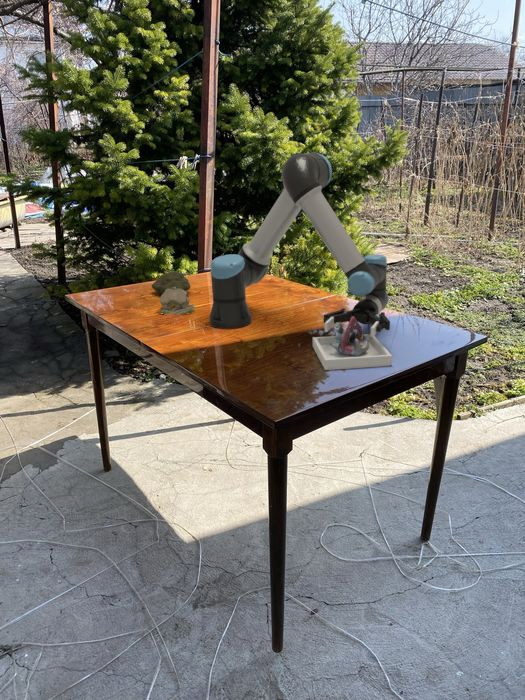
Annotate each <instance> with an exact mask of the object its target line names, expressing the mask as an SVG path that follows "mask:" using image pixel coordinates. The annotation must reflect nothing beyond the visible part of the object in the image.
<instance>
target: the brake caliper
mask: <svg viewBox="0 0 525 700" xmlns="http://www.w3.org/2000/svg"><path fill="white" fill-rule="evenodd" d="M333 330H335V331H336V333H335V336H336V343H330V345H331V346H332V347H333V348H334V349H336V350H337V351H338V353H339V354H340V355H344V356H346V355H348V356H353V357H359V356H361V355H362V354H364V353H365V352H366V351H367V350H368V348H369V344H368V340H367V336H366V335H365V333H363V331H364V329H363V328H362V325H361V323H359V322H357V320H356V318H355V317H354V316H353V317H352V318H351V320H350V322H348V324H347V327H343V322H342V323H337V322H336V324H334V326H333ZM355 330H356V331H357V332H356V331H355ZM362 334H364V335H363V338H362Z"/></svg>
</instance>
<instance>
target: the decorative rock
mask: <svg viewBox="0 0 525 700" xmlns="http://www.w3.org/2000/svg"><path fill="white" fill-rule="evenodd" d="M172 287H176V289H183V290H184V291H186V292H188V291H189V290H190V289H191V284H190V282H189V279H188V278H186V277H185V276H184V274H182V273H181V272H180V271H177V270H173V271H168V272H166V273H163V274H161V275H159V277H158V278H157V279H156V280H155V281H154V282H153V283H152V284H151V288H152V289H153V290H154V291H155V292H156V293H158V294H163V293H164V292H165V290H166V289H172Z"/></svg>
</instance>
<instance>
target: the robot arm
mask: <svg viewBox="0 0 525 700" xmlns="http://www.w3.org/2000/svg"><path fill="white" fill-rule="evenodd" d="M332 170H333V169H332V165H331V162H330V161H329V159H328V158H327V157H326V156H325V155H323V154H321V153H317V152H314V151H313V152H309V153H297V154H294V155H291V156H290V157H289V158H287V160H286V161H285V162H284V164H283V165H282V170H281V180H282V184H283V190H282V191H281V193H280V195H279V197H278V198H277V200H276V201H275V203H274V204H273V206H272V207H271V209H270V211H268V214H267V215H266V217H265V219H264V220H263V221H262V223H261V225H260V226H259V228H258V230H257V231H256V233H255V234H254V236H253V237H252V239H251V240H250V242H247V243H244V244H243V245H242V247H241V249H240V250H239V252H238V254H234V253H233V254H232V253H231V254H225V255H219V256H217V257H215V258H214V259H213V260H212V261H211V263H210V275H211V276H210V277H211V290H212V306H211V309H210V314H209V325H210V326H211V325H212V327H213V326H214V328H218V329H225V330H226V329H227V330H228V329H237V328H238V329H239V328H243V327H246V326H248V324H249V325H250V324H251V323H252V321H253V319H252V314H251V310H250V309H249V305H248V302H247V297H246V288H247V287H250V286H252V285H255V284H257V283H259V282H260V281H261V280H263V279H264V277H265V276H266V275H267V273H268V271H269V265H270V264H271V257H270V256H271V255H272V254H273V252H274V250H275V249H276V247H277V246H278V245H279V243H280V241H281V240H282V239H283V238H284V235H285V234H286V232H287V231H288V230H289V228H290V227H291V225H292V224H293V223H294V221H295V220H296V218H297V217H298V215H299V213H300V212H301V211H303V213H304V214H305V215H306V217H307V219H308V220H309V222H310V223H311V225H312V226H313V228H314V229H315V231H316V232H317V234H318V235H319V238H320V239H321V240H322V242H323V243H324V245H325V246H326V247H327V250H328V251H329V252H330V254H331V256H332V257H333V258H334V260H335V262H336V263H337V265H338V266H339V268H340V269H341V271H342V273H343V274H344V276H345V277H346V279H347V289H348V290H349V292H350V294H352V295H354V296H356V297H362V298H361V299H360V300H358V302H357V303H356V304H355V305H354V307H353V308H352V309H351V310H346V308H345V307H344V308H341V309H339V310H336V311H332V312H327V313H326V314H323V324H324V333H327V332H329V331H330V330H331V329H332V328H334V326H335V325H336V322H337V323H342V324H343V323H346V322H347V323H349V322H350V320H351V318H352V317H353V316H354V317H355V318H356V320H357V322H358V323H359V324H360V325H361V324H362V325H371V327H370V334H371V337H374V336H375V337H376V334H377V333H380V332H382V331H383V330H386V331H390V327H391V321H390V320H389V319H388V317H387V316H386V313H385V312H383V310H384V309H385V308H386V307H387V305H388V302H389V295H388V293H387V271H388V269H387V268H388V264H387V261H388V260H387V256H385V255H384V254H367V255H365V256H363V255H362V254H361V251H360V250H359V248H358V247H357V245H356V244H355V243H354V241H353V239H352V237H351V236H350V234H349V233H348V232H347V230H346V228H345V227H344V225H343V224H342V222H341V221H340V219H339V217H338V216H337V215H336V213H335V211H334V210H333V208H332V207H331V205H330V203H329V202H328V200H327V199H326V197H325V195H324V194H323V193H322V189H324V188H325V187H326V186H327V185H328V184H329V183H330V181H331V180H332V176H333V175H332V174H333V171H332Z"/></svg>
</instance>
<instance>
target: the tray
mask: <svg viewBox="0 0 525 700" xmlns="http://www.w3.org/2000/svg"><path fill="white" fill-rule="evenodd" d="M364 334H365V333H362V338H363V335H364ZM365 335H366V336H367V340H368V344H369V348H368V350H367V351H366V352H365V353H364V354H362V355H361V356H359V357H353V356H348V355H346V356H344V355H340V354H339V353H338V351H337V350H336V349H334V348H333V347H332V346H331V345H330V343H336V335H331V336H316V337H315V336H312V349H313V350H314V352H315V354H316V355H317V358H318V360H319V361H320V363H321V365H322V367H323V369H324V371H331V370H347V369H362V368H376V367H391V366H390V365H392V363H393V355H392V354H391V353H390V352H389V351H388V349H387V348H386V347H385V346H384V344H382V343H381V342H380V340H379V339H378V337H376V335H375V336H374V337H371V333H366V334H365Z"/></svg>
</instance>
